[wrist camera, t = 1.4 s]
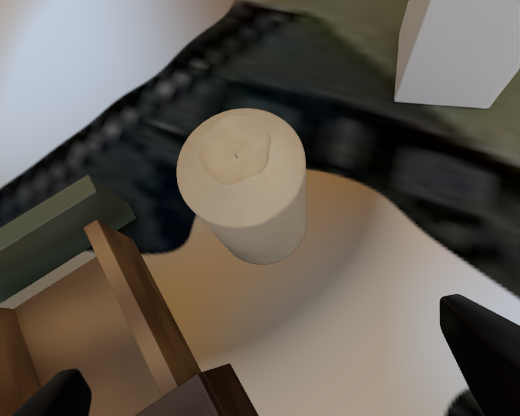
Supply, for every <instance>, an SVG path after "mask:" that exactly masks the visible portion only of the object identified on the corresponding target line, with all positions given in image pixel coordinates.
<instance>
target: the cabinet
mask: <svg viewBox="0 0 520 416" xmlns="http://www.w3.org/2000/svg"><path fill="white" fill-rule="evenodd" d="M135 416H258V414H257V412H256V410H255V408H254V407H253V405H252V403H251V401H250V399H249V397H248V396H247V394H246V392H245V390H244V388H243V387H242V385H241V383H240V381H239V379H238V377H237V376H236V374H235V372H234V370H233V368H232V366H231V365H230V364H226V365H223V366H220V367H217V368H214V369H211V370H207V371H205V372H201V373H198V374H196V375H194V376H193V377H191V378H190V379H188V380H187V381H185V382H184V383H182V384H181V385H179V386H178V387H176V388H175V389H173V390H172V391H170V392H169V393H167V394H166V395H164V396H163V397H162V398H160V399H159V400H157V401H156V402H154V403H153V404H151V405H150V406H148V407H147V408H145V409H144V410H142V411H141V412H139V413H138V414H136V415H135Z"/></svg>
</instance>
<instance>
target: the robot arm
mask: <svg viewBox="0 0 520 416" xmlns="http://www.w3.org/2000/svg"><path fill="white" fill-rule="evenodd" d="M440 326H441V330H442V333H443V335H444V337H445V339H446V341H447V343H448V345H449V347H450V349H451V351H452V353H453V355H454V358H455V359H456V362H457V364H458V366H459V368H460V370H461V372H462V374H463V376H464V378H465V380H466V382H467V384H468V386H469V388H470V390H471V392H472V394H473V396H474V398H475V399H476V401H477V403H478V404H479V406H480V408H481V409H482V411H483V413H484V414H485V416H520V326H519V325H517V324H515V323H513V322H512V321H509V320H508V319H506V318H504V317H502V316H500V315H498V314H496V313H494V312H492V311H491V310H489V309H487V308H485V307H483V306H481V305H479V304H477V303H475V302H473V301H471V300H469V299H468V298H466V297H464V296H462V295H459V294H454V295H449V296H444V297H442V298H441V299H440ZM91 401H92V392H91V389H90V387H89V385H88V384H87V382H86V380H85V379H84V377H83V375H82V374H81V372H80V371H79V370H78V369H76V368H72V369H67V370H62V371H60V372H58V373H57V374H56V375H55V376H54V377H53V378H51V379H50V380H49V381H48V382H47V383H46V384H45V385H44V386H43V387H42V388H41V389H39V390H38V391H37V392H36V393H35V394H34V395H33V396H32V397H31V398H30V399H29V400H27V401H26V402H25V403H24V404H23V405H22V406H21V407H20V408H19V409H18V410H17V411H16V412H14V413H13V414H12V415H11V416H89V411H90V406H91Z"/></svg>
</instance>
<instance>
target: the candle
mask: <svg viewBox="0 0 520 416" xmlns="http://www.w3.org/2000/svg"><path fill="white" fill-rule="evenodd" d="M177 182H178V186H179V189H180V192H181V194H182V197H183V199H184V200H185V202H186V203H187V205H188V206H189V207H190V208H191V209H192V210H193V211H194V213H195V214H196V215H197V216H198V217H199V218H200V219H201V220H202V221H203V222H204V223H205V224H206V226H207V227H208V228H209V229H210V230H211V231H212V232H213V233H214V234H215V235H216V236H217V238H219V240H220V241H221V242H222V243H223V244H224V245H225V246H226V247H227V248H228V249H229V251H231V252H232V253H233V254H234V255H235V256H236V257H238V258H240V259H241V260H243V261H246V262H249V263H252V264H260V265H265V264H272V263H276V262H279V261H281V260H283V259H284V258H286V257H287V256H289V255H291V254H292V253H293V252H294V251H295V250H296V248H297V247H298V246H299V245H300V243H301V241H302V239H303V237H304V235H305V231H306V225H307V202H306V201H307V198H306V160H305V153H304V149H303V146H302V143H301V141H300V139H299V137H298V135H297V134H296V132H295V131H294V130H293V129H292V127H291V126H290V125H289V124H287V123H286V122H285V121H284V120H282V119H281V118H279V117H278V116H276V115H274V114H272V113H269V112H266V111H263V110H258V109H249V108H245V109H234V110H229V111H226V112H222V113H220V114H217V115H215V116H213V117H211V118H209V119H208V120H206V121H205V122H203V123H202V124H201V125H200V126H198V127H197V128H196V129H195V130H194V131H193V132H192V134H191V135H190V136H189V137H188V139H187V140H186V142H185V144H184V145H183V147H182V150H181V152H180V155H179V159H178V163H177Z"/></svg>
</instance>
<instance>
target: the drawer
mask: <svg viewBox="0 0 520 416" xmlns="http://www.w3.org/2000/svg"><path fill="white" fill-rule="evenodd" d="M134 219H136V217H135V215H134V213H133V211H132V209H131V207H130V206H129V204H127V203H126V202H125V201H123V200H122V199H121V198H119V197H118V196H117V195H115V194H114V193H113V192H111V191H110V190H108V189H107V188H106V187H104V186H103V185H102V184H100V183H99V182H98V181H96V180H95V179H94V178H92V177H91V176H89V175H87V176H85V177H83V178H82V179H80V180H78V181H77V182H75V183H74V184H72V185H70V186H69V187H67V188H65V189H64V190H62V191H60V192H59V193H57V194H55V195H54V196H52V197H51V198H49V199H47V200H46V201H44V202H42V203H41V204H39V205H37V206H36V207H34V208H32V209H31V210H29V211H28V212H26V213H24V214H23V215H21V216H19V217H18V218H16V219H14V220H13V221H11V222H10V223H8V224H6V225H5V226H3V227H1V228H0V303H2V302H3V301H5V300H6V299H8V298H10V297H11V296H13V295H15V294H16V293H18V292H19V291H21V290H23V289H24V288H26V287H27V286H29V285H31V284H32V283H34V282H35V281H37V280H39V279H40V278H42V277H43V276H45V275H46V274H48V273H50V272H51V271H53V270H54V269H56V268H58V267H59V266H61V265H62V264H64V263H66V262H67V261H69V260H70V259H72V258H74V257H75V256H77V255H78V254H80V253H82V252H83V251H85V250H86V249H88V248H90V247H91V246H92V247H93V249H94V251H95V253H96V256H97V257H95V258H94V259H92V260H91V261H89V262H88V263H86V264H84V265H83V266H81V267H80V268H78V269H76V270H75V271H73V272H72V273H70V274H68V275H67V276H65V277H64V278H62V279H61V280H59V281H57V282H56V283H54V284H53V285H51V286H49V287H48V288H46V289H45V290H43V291H41V292H40V293H38V294H37V295H35V296H34V297H32V298H30V299H29V300H27V301H26V302H24V303H22V304H21V305H19V306H18V307H16V308H14V309H7V308H0V416H11V415H12V414H13V413H14V412H16V411H17V410H18V409H19V408H20V407H21V406H22V405H23V404H24V403H25V402H26V401H27V400H29V399H30V398H31V397H32V396H33V395H34V394H35V393H36V392H37V391H38V390H39V389H41V388H42V387H43V386H44V385H45V384H46V383H47V382H48V381H49V380H50V379H51V378H53V377H54V376H55V375H56V374H57V373H58V372H60V371H62V370H67V369H72V368H76V369H78V370H79V371H80V372H81V374H82V375H83V377H84V379H85V380H86V382H87V384H88V385H89V387H90V389H91V392H92V401H91V406H90V411H89V416H135V415H136V414H138V413H139V412H141V411H142V410H144V409H145V408H147V407H148V406H150V405H151V404H153V403H154V402H156V401H157V400H159V399H160V398H162V397H163V396H164V395H166V394H167V393H169V392H170V391H172V390H173V389H175V388H176V387H178V386H179V385H181V384H182V383H184V382H185V381H187V380H188V379H190V378H191V377H193V376H194V375H196V374H198V373H201V370H200V368H199V366H198V364H197V363H196V361H195V359H194V357H193V355H192V353H191V351H190V349H189V347H188V345H187V343H186V341H185V339H184V337H183V335H182V333H181V331H180V330H179V328H178V326H177V324H176V322H175V320H174V318H173V316H172V314H171V312H170V310H169V308H168V307H167V304H166V302H165V301H164V299H163V297H162V295H161V293H160V291H159V289H158V287H157V285H156V283H155V281H154V279H153V277H152V275H151V273H150V271H149V270H148V268H147V265H146V264H145V262H144V260H143V258H142V256H141V254H140V252H139V250H138V248H137V246H136V244H135V242H134V240H132V239H130V238H128V237H127V236H125V235H123V234H122V233H120V232H118V231H117V230H118V229H120V228H122V227H123V226H125V225H126V224H128V223H130V222H131V221H133V220H134Z"/></svg>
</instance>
